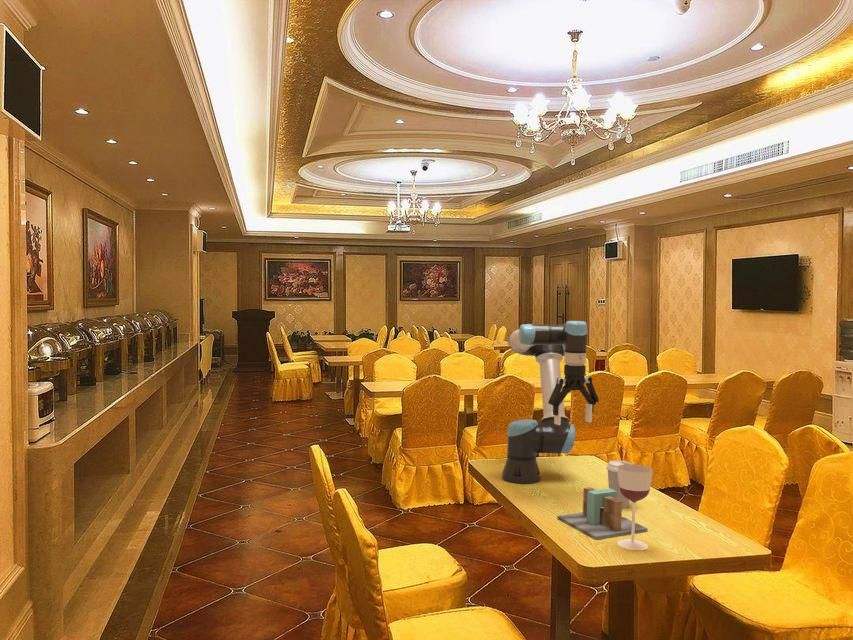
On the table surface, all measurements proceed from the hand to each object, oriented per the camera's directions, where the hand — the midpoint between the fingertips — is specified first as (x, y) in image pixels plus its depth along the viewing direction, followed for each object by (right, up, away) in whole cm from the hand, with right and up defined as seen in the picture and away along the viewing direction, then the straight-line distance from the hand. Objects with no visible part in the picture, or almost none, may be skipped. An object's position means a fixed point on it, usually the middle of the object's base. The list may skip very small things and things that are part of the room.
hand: (573, 423), depth 235 cm
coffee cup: (+16, -29, -3) cm, 33 cm away
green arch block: (+4, -28, -24) cm, 37 cm away
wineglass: (+9, -30, -40) cm, 51 cm away
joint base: (+4, -29, -24) cm, 38 cm away
